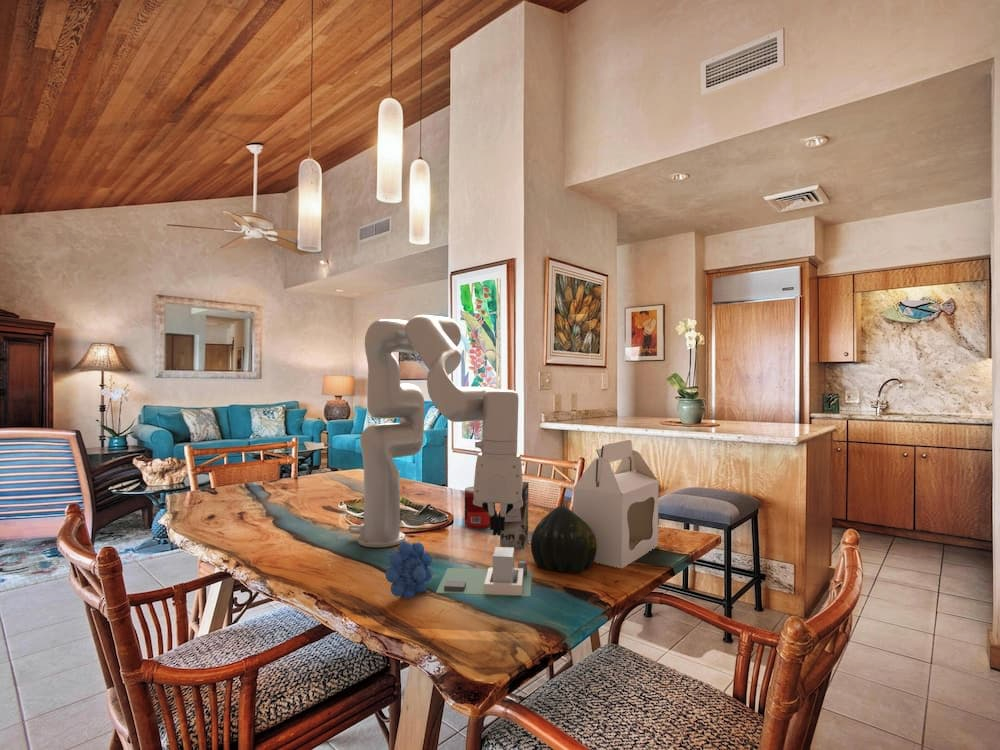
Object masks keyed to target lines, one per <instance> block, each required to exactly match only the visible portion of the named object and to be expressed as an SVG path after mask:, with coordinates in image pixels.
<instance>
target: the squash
mask: <svg viewBox="0 0 1000 750" xmlns="http://www.w3.org/2000/svg"><path fill="white" fill-rule="evenodd" d="M531 536H532V537H531V539H530V551H531V554H532V558H533V561H534V563H535V564H536V566H537V567H538V568H542V569H547V570H548V571H551V572H556V571H559V572H565V571H566V572H568V573H570V574H574V575H577V574H582V572H583V571H584V570H589V569H590V568H591V567H592V566H593V564H594V563H595V562H594V559H595V556H596V550H597V543H596V538H595V535H594V533H593V531H592V529H591V528H590V527H589V526H588V525H587V524H586V523H585V522H584V521H583V520H582V519H581V518H580V517H578V516H577V515H576V514H575V513H573V511H572V510H571V509H569V507H567V506H565V505H563V504H561V505H560V506H557V507H556V508H554V509H553V510H551V511H550V512H548V513H547V514H546V515H545V516H544V517H543V518H541V520H540V521H539V522H538V523H537V525H536V526H535V528H534V530H533V533H532V535H531Z"/></svg>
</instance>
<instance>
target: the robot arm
mask: <svg viewBox="0 0 1000 750" xmlns="http://www.w3.org/2000/svg"><path fill="white" fill-rule="evenodd" d="M461 339H462V331H461V328H460V325H459V324H458V322H456V320H454V319H453V318H451V317H446V316H439V315H429V314H419V315H415V316H413V317H411V318H410V319H409V320H404V319H395V318H394V319H393V318H383V319H377V320H375V321H373V322H372V323H371V324H370V325H369V326H368V328H367V329H366V332H365V335H364V351H365V356H366V360H367V392H366V393H367V395H366V396H367V397H366V398H367V399H366V400H367V402H366V405H367V412H368V414H369V415H370V416H371V417H372V418H374V419H379V420H381V419H388V420H389V419H399V420H400V421H399V422H386V423H378V424H377V423H376V424H373V425H369V426H367V427H366V428H364V429H363V431H362V432H361V434H360V439H359V440H360V441H359V443H360V444H359V445H360V452H361V456H362V462H363V465H362V466H363V523H360V524H353V523H352V524H349V526H348V531H349V533H350V534H358V536H357V544H358V545H360V546H362V547H367V548H388V547H393V546H398V545H400V544H401V543H403V542H406V534H405V533H403V532H402V531H400V529H401V528H400V527H401V526H400V517H401V516H400V515H401V514H400V512H401V510H400V509H401V508H400V507H401V506H400V505H401V504H400V503H401V498H400V496H401V495H400V494H401V482H400V481H401V478H400V477H401V475H400V471H399V470H398V467H397V466H396V464H395V463H394V460H393V459H396V458H405V457H410V456H414V455H417V454H418V453H419V452H420V451H421V450H422V448H423V443H424V435H425V434H424V433H425V431H424V430H425V399H424V395H423V392H422V390H421V389H420V387H418V386H417V385H416V384H412V383H401V367H400V364H399V361H398V360H397V358H396V356H395V355H394V353H406V354H407V353H413V354H417V355H418V357H419V358H420V359H421V361H422V362H423V364H424V365H425V366H426V367H427V369H428V373H427V377H426V385H427V386H426V387H427V393H428V396H429V398H430V400H431V401H432V403H433V404H434V406H435V407H436V409H437V411H439V413H440V414H441V415H442V416H443V417H444V418H445V419H446V420H448V421H450V422H453V423H461V422H478V421H482V427H481V430H482V431H481V432H482V433H481V439H480V440H477V441H475V442H474V448H475V449H476V448H477V449H480V451H481V452H479V453H478V454H477V456H476V463H475V468H474V469H475V471H474V479H473V486H474V500H473V504H474V505H476V506H480V507H483V508H484V509H485V510H486V511H487V512H488V513H489V515H490V526H489V530H490V531H492V535H493V536H496V535H497V536H498V537H500V535H501V531H504V528H505V515H506V514H507V513H508V512H509V511H510V510H512V509H515V508H520V507H522V506H523V500H522V482H523V467H522V466H523V465H522V458H521V454H519V453H518V436H519V435H518V434H519V433H518V430H519V429H518V428H519V426H518V425H519V395H518V392H517V391H515V390H513V389H498V388H493V387H489V386H488V387H487V386H457V385H456V384H455V383H454V382H453V380H452V379H451V378H450V377H449V375H450V374H452V373H453V372H454V371H455V370H456V369H457V368H458V367H459V366H460V363H461V361H462V353H461V351H460V350H459V348H458V346H459V344H460V342H461V341H462V340H461ZM500 503H502V505H501V510H499V512H497V509H496V504H500Z"/></svg>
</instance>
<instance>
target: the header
mask: <svg viewBox="0 0 1000 750" xmlns="http://www.w3.org/2000/svg"><path fill="white" fill-rule="evenodd" d="M514 579H517V583H495V582H492V580H493V566H492V567H489V566H488V572H487V576H486V579H485V583H484V594H495V595H494V596H502V595H522V587H523V568H518V567H514Z"/></svg>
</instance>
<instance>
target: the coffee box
mask: <svg viewBox="0 0 1000 750" xmlns="http://www.w3.org/2000/svg"><path fill="white" fill-rule="evenodd" d="M529 485H530V484H529V482H528V481H522V500H523V506H522V507H520V508H515V509H512V510H510V511H509V512H508V513H507V514H506V515H505V528H504V531H501V535H500V536H499V547H513V548H514V550H524V549H525V547H526V546H527V544H528V543H529V542H528V541H529ZM499 504H500V508H499V509H500V510H501V505H502V503H499ZM500 510H499V511H500Z"/></svg>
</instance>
